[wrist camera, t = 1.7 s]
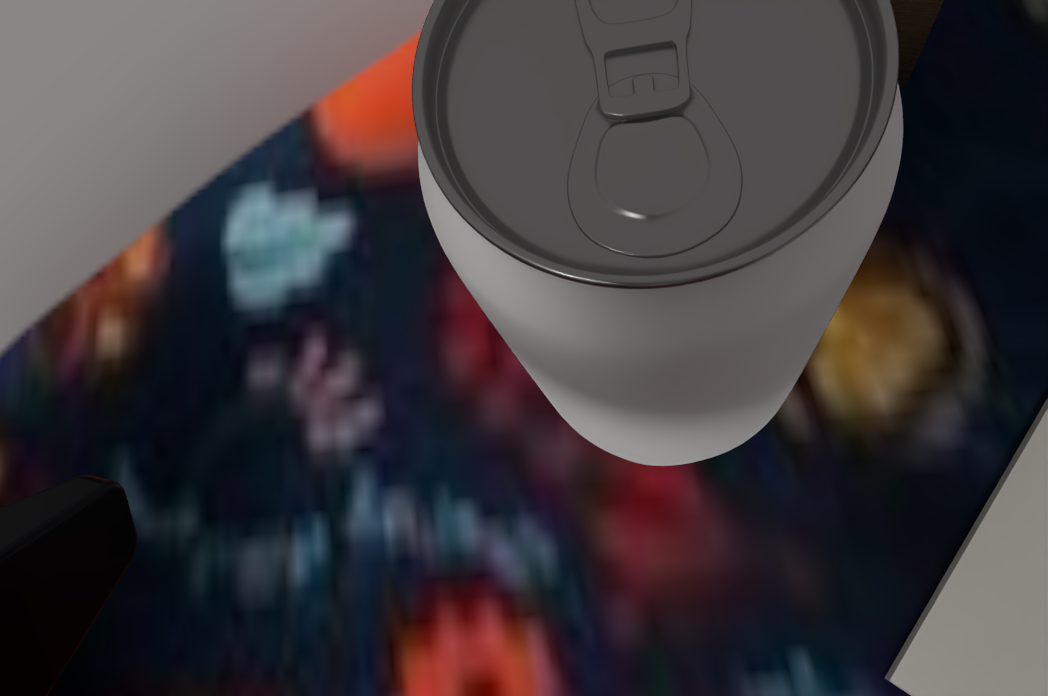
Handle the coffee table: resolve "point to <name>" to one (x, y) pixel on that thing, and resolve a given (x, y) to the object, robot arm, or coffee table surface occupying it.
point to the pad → (991, 595)
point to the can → (659, 196)
